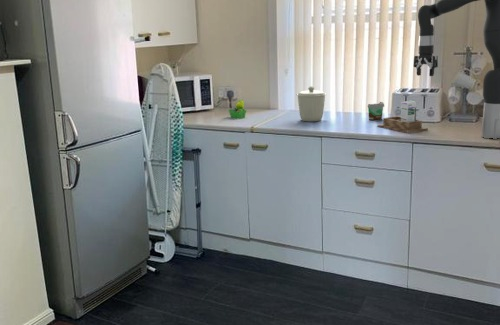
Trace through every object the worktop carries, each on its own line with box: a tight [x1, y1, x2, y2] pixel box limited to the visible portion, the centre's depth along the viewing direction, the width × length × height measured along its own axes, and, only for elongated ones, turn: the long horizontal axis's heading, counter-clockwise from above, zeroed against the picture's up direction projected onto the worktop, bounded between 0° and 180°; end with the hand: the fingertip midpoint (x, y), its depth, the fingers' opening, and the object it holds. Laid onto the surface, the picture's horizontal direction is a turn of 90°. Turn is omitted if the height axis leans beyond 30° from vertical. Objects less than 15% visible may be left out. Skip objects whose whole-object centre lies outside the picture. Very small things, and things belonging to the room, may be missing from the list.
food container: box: [367, 101, 385, 121], centre depth 308 cm, size 12×6×10 cm, turn 130°
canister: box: [296, 86, 327, 122], centre depth 312 cm, size 18×18×21 cm
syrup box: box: [400, 100, 417, 122], centre depth 275 cm, size 6×6×14 cm
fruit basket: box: [228, 99, 247, 120], centre depth 335 cm, size 11×9×11 cm
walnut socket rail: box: [377, 115, 429, 134], centre depth 281 cm, size 24×14×5 cm, turn 27°
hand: (425, 75), depth 271 cm, fingers open, 8 cm apart
